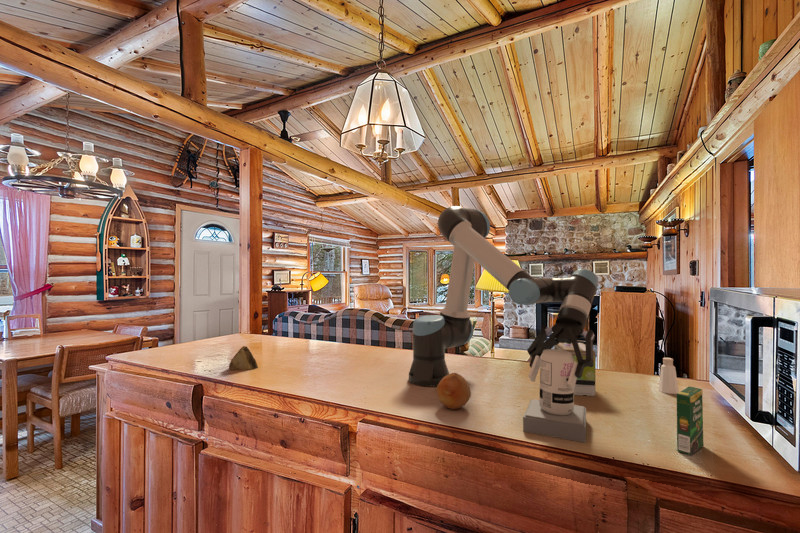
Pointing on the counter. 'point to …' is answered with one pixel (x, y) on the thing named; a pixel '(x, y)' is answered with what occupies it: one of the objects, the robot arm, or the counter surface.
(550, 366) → the supplement can
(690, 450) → the coffee box
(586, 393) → the tea box
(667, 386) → the pepper shaker
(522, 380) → the counter surface
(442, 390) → the onion
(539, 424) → the base block
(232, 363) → the rock
